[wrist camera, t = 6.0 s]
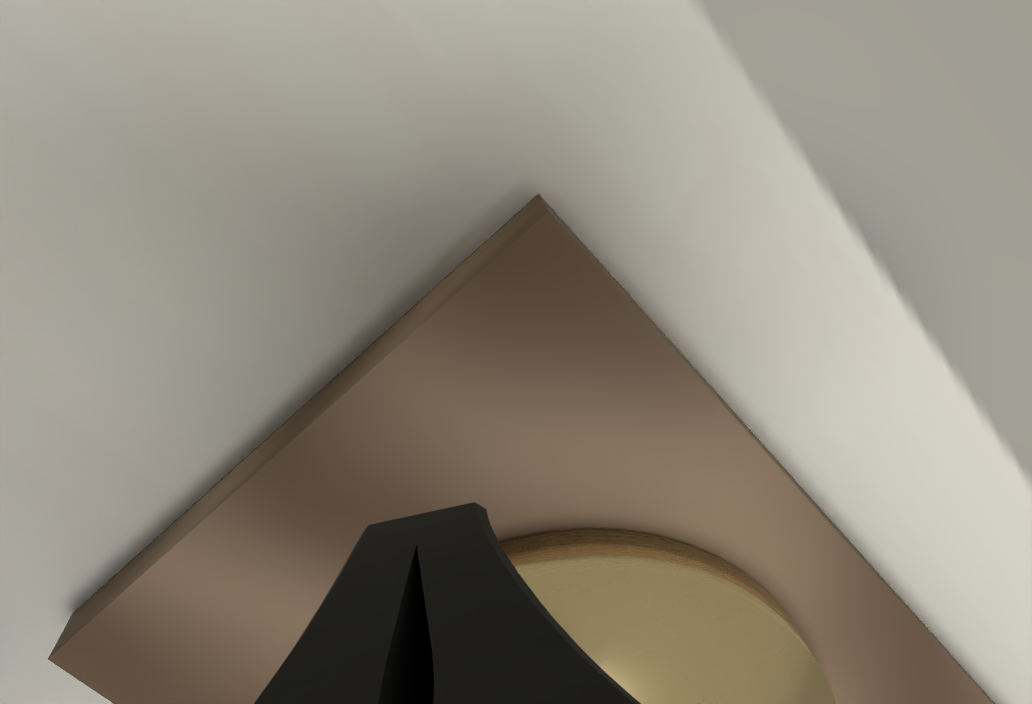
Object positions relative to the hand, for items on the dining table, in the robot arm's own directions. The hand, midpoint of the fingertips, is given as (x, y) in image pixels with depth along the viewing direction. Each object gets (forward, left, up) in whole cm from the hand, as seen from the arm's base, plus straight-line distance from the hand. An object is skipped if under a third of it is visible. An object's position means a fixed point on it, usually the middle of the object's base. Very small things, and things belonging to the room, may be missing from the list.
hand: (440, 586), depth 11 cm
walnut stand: (-4, -10, -9) cm, 14 cm away
